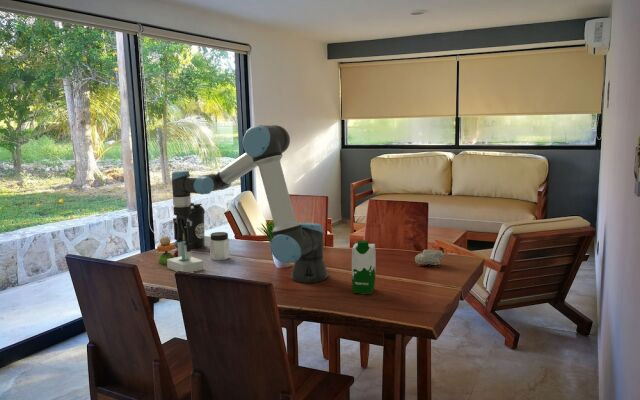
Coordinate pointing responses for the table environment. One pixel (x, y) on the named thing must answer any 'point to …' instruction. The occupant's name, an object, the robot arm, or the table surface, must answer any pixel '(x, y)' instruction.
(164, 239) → the colourful stacking toy
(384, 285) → the table surface
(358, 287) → the milk carton
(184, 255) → the peg
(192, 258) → the socket block
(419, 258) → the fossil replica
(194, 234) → the water bottle
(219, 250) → the jar
